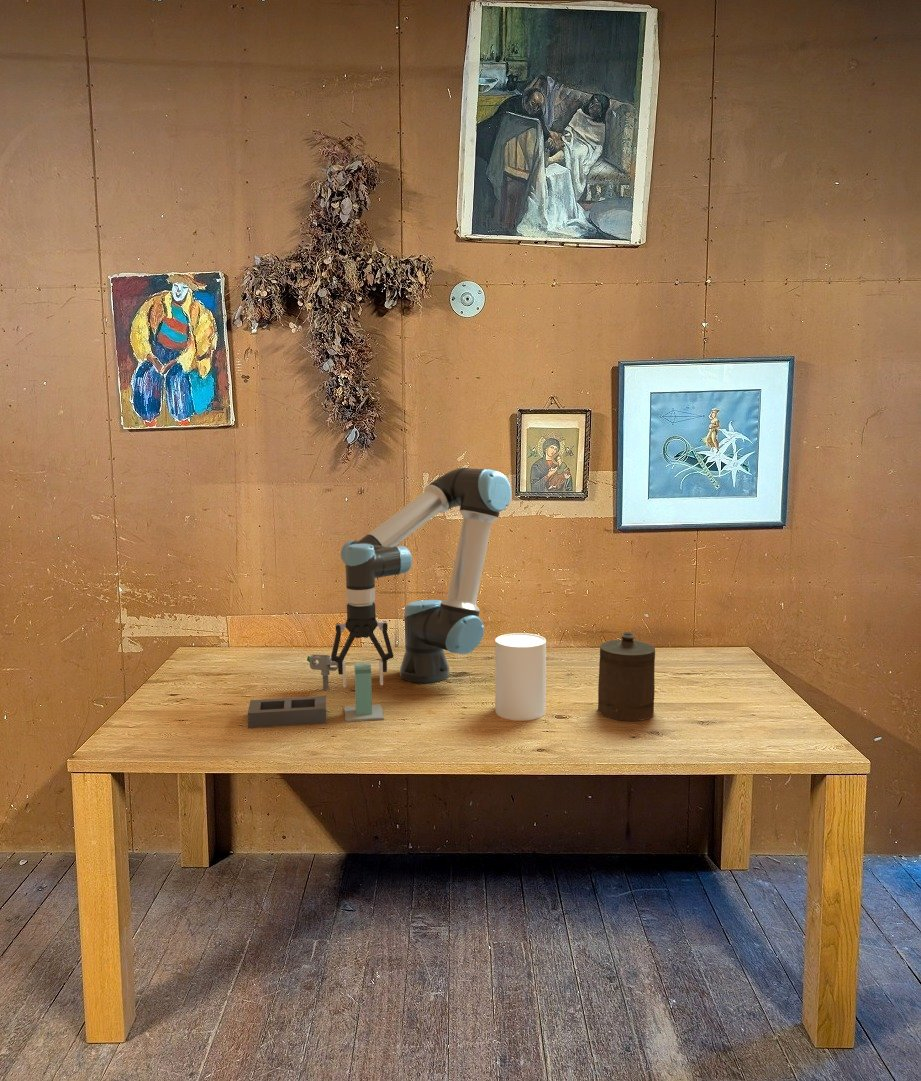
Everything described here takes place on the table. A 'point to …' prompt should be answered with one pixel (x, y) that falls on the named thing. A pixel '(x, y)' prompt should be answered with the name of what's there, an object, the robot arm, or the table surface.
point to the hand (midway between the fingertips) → (363, 684)
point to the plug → (363, 689)
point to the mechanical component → (322, 666)
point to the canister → (520, 676)
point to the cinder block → (287, 711)
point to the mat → (352, 717)
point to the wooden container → (626, 679)
